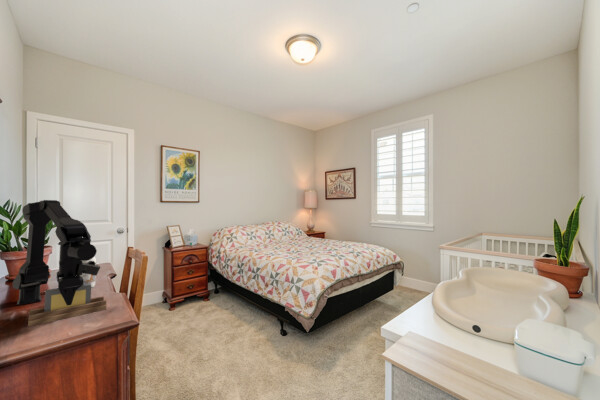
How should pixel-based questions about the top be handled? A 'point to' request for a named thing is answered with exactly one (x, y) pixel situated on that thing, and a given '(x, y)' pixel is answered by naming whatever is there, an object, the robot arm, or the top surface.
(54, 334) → the top surface
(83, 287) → the photo frame
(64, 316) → the picture ledge
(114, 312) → the top surface
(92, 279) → the bath foam
